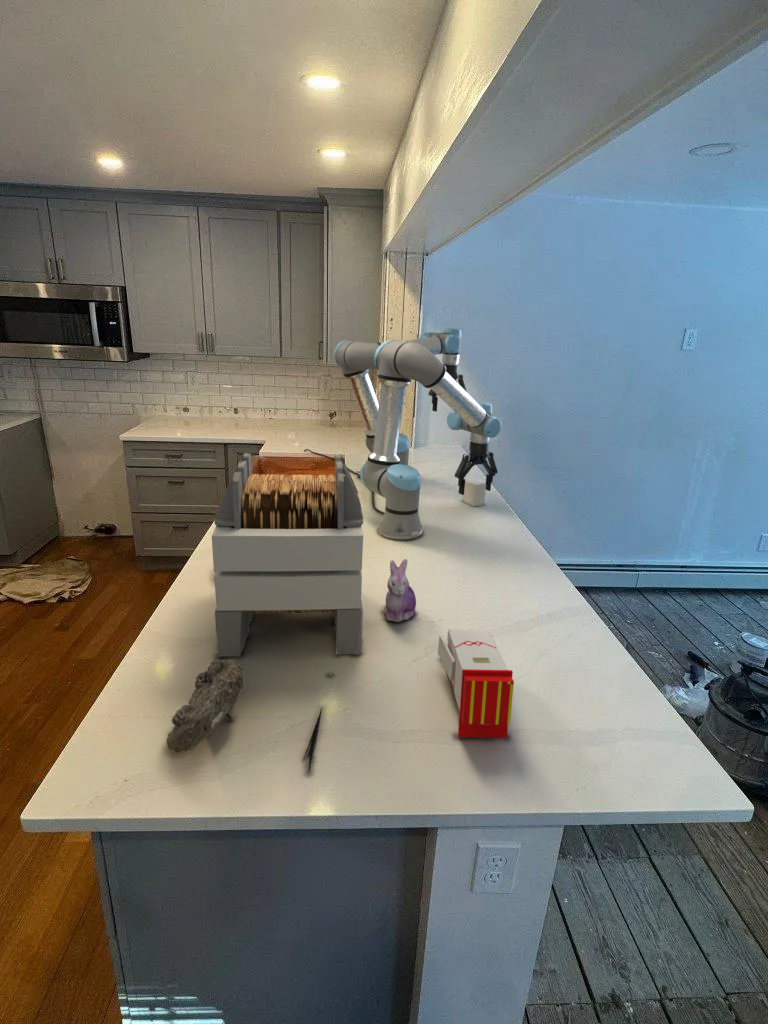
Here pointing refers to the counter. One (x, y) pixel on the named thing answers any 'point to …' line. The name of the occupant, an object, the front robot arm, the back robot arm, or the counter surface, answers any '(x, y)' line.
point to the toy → (478, 682)
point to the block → (474, 492)
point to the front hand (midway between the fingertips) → (474, 492)
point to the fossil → (206, 705)
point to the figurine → (399, 594)
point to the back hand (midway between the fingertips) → (446, 410)
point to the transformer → (288, 552)
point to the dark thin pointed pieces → (313, 740)
